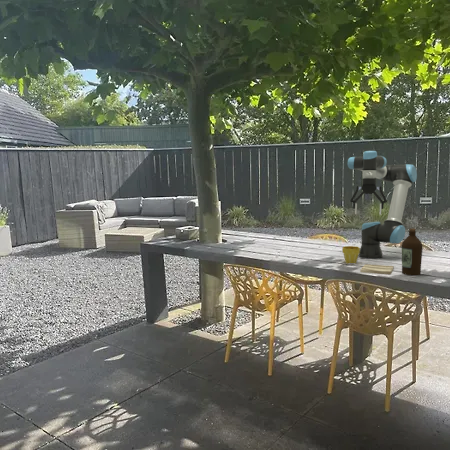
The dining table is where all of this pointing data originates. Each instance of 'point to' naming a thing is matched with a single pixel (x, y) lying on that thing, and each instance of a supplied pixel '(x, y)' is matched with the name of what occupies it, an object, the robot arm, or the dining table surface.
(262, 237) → the dining table surface
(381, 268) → the ash board
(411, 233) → the olive oil
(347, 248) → the plant pot
